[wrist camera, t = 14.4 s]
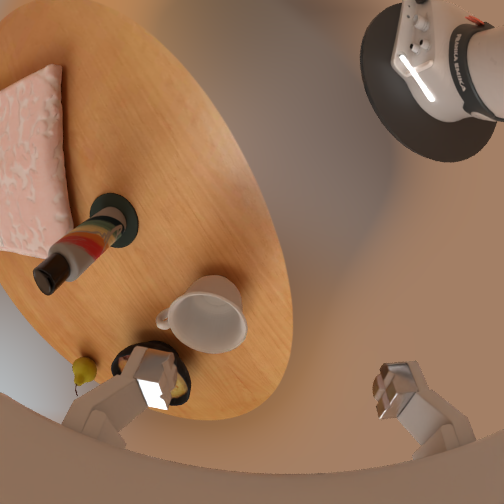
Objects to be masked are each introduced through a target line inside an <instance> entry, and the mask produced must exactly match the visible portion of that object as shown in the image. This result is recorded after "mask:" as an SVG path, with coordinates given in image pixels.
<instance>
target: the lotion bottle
mask: <svg viewBox="0 0 504 504" xmlns="http://www.w3.org/2000/svg"><path fill="white" fill-rule="evenodd" d="M125 229H126V220H125V217H124V215H123V213H122V212H121V211H120V210H118V209H117V208H115V207H107V208H104V209H102V210H101V211H99V212H98V213H96V214H95V215H93V216H92V217H90V218H89V219H87V220H86V221H85V222H83V223H82V224H80V225H79V226H77V227H76V228H75V229H73V230H72V231H70V232H69V233H68V234H66V235H65V236H64V237H62V238H61V239H60V240H58V241H57V242H56V243H54V244H53V245H52V246H51V247H50V249H49V251H48V257H47V258H46V259H45V260H44V261H43V262H42V263H40V264H39V265H38V266H37V267H36V268H35V269H34V270H33V276H34V279H35V281H36V284H37V285H38V287H39V289H40V290H41V291H42V292H43V293H44V294H45V295H51V294H52V293H54V292H55V291H56V290H57V289H58V288H59V287H60V286H61V285H62V284H63V283H64V282H65V281H67V282H72V281H74V280H76V279H77V278H78V277H79V276H80V275H81V274H82V273H83V272H84V271H85V270H86V269H87V268H88V267H89V266H90V265H91V264H92V263H93V262H94V261H95V260H96V259H97V258H98V257H99V256H100V255H101V254H103V253H104V252H105V251H106V250H107V249H108V248H109V247H110V246H111V245H112V244H113V243H114V242H115V241H116V240H117V239H119V238H120V237H121V236H122V235H123V233H124V232H125Z"/></svg>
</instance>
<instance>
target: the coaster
mask: <svg viewBox="0 0 504 504" xmlns="http://www.w3.org/2000/svg"><path fill="white" fill-rule="evenodd" d="M107 207H115V208H117V209H118V210H120V211H121V212H122V213H123V215H124V217H125V220H126V229H125V232H124V233H123V235H122V236H121V237H120V238H119V239H117V240H116V241H115V242H114V243H113V244H112V245H111V246H110V247H114V248H122V247H125V246H127V245H129V244H130V243H131V242H132V241H133V240H134V239H135V237H136V235H137V232H138V217H137V214H136V212H135V210H134V208H133V206H132V205H131V204H130V202H129V201H128V200H127V199H125V198H124V197H122V196H121V195H118V194H115V193H106V194H103V195H101V196H99V197H98V198H97V199H96V200H95V201H94V202H93V204H92V206H91V210H90V217H92V216H93V215H95V214H96V213H98V212H99V211H101V210H102V209H104V208H107Z"/></svg>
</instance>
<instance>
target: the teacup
mask: <svg viewBox="0 0 504 504" xmlns="http://www.w3.org/2000/svg"><path fill="white" fill-rule="evenodd" d="M167 317H168V320H166V321H163V320H164V319H165V318H167ZM156 324H157V326H158V328H160V329H169V328H171V330H172V332H173V333H174V335H175V336H176V337H177V338H178V339H179V340H180V341H181V342H182V343H184V344H185V345H187V346H188V347H190V348H192V349H195V350H197V351H200V352H204V353H212V354H217V353H224V352H228V351H231V350H233V349H235V348H236V347H238V346H239V345H240V344H241V343H242V342H243V341H244V339H245V338H246V335H247V322H246V319H245V317H244V314H243V311H242V299H241V295H240V292H239V290H238V289H237V287H236V286H235V285H234V284H233V283H232V282H231V281H229V280H228V279H227V278H225V277H223V276H220V275H209V276H204V277H201V278H199V279H198V280H196V281H195V282H194V283H192V285H191V286H190V287H189V288H188V289H187V291H186V292H185V293H184V295H182V296H180V297H178V298H177V299H176V300H175V301H174V302H173V303H172V304H171V306H170V307H169V308H167V309H164V310H163V311H161V312H160V313H159V314H158V315H157V317H156Z"/></svg>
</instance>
